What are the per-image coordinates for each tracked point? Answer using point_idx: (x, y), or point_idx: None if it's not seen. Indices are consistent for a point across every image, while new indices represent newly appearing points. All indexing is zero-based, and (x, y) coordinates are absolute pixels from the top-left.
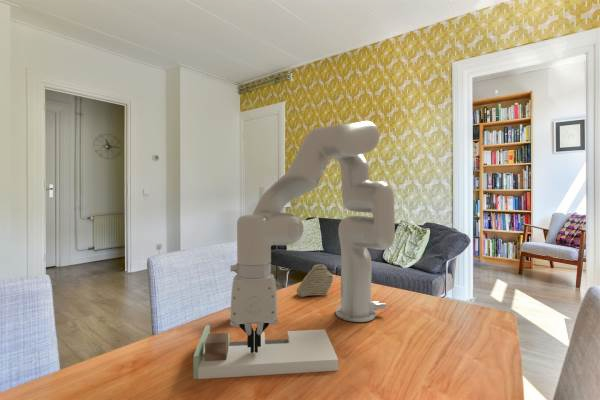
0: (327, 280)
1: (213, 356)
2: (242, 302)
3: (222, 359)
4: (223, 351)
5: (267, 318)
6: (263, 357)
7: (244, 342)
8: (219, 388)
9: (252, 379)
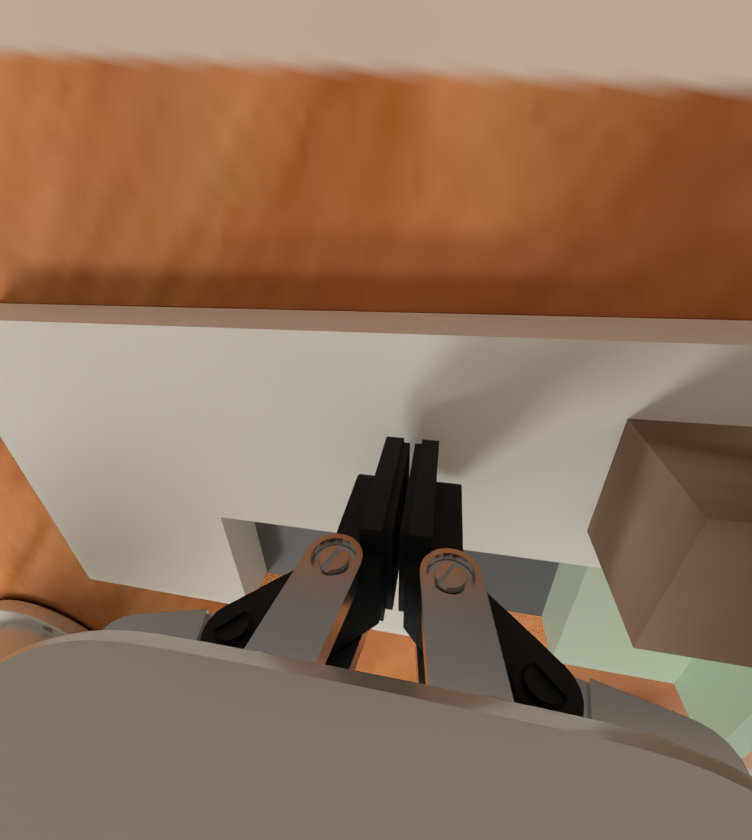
0: None
1: None
2: None
3: (661, 423)
4: (685, 460)
5: (73, 713)
6: (353, 407)
7: None
8: (688, 180)
9: (435, 273)
